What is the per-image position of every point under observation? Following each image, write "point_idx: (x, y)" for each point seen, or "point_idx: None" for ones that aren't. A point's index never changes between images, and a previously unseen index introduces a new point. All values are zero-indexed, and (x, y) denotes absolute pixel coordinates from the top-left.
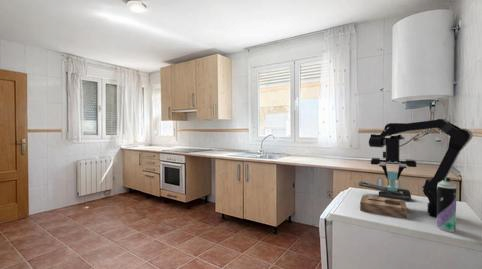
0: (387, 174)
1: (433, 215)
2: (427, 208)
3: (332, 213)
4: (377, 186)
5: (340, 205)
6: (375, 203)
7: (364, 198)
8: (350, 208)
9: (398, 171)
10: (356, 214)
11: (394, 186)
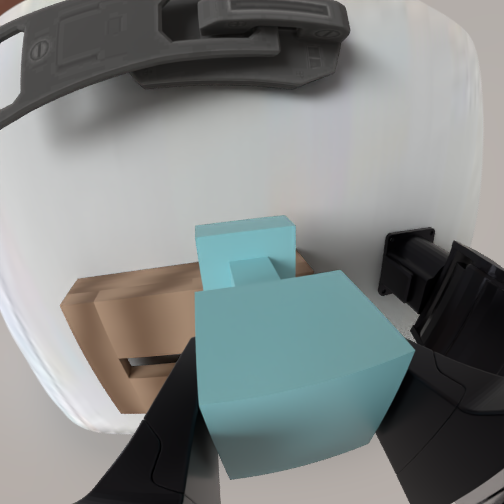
0: None
1: (388, 292)
2: (390, 267)
3: (87, 427)
4: (92, 27)
5: (49, 366)
6: None
7: (104, 366)
8: (90, 380)
9: (390, 461)
10: (137, 414)
11: (270, 250)
